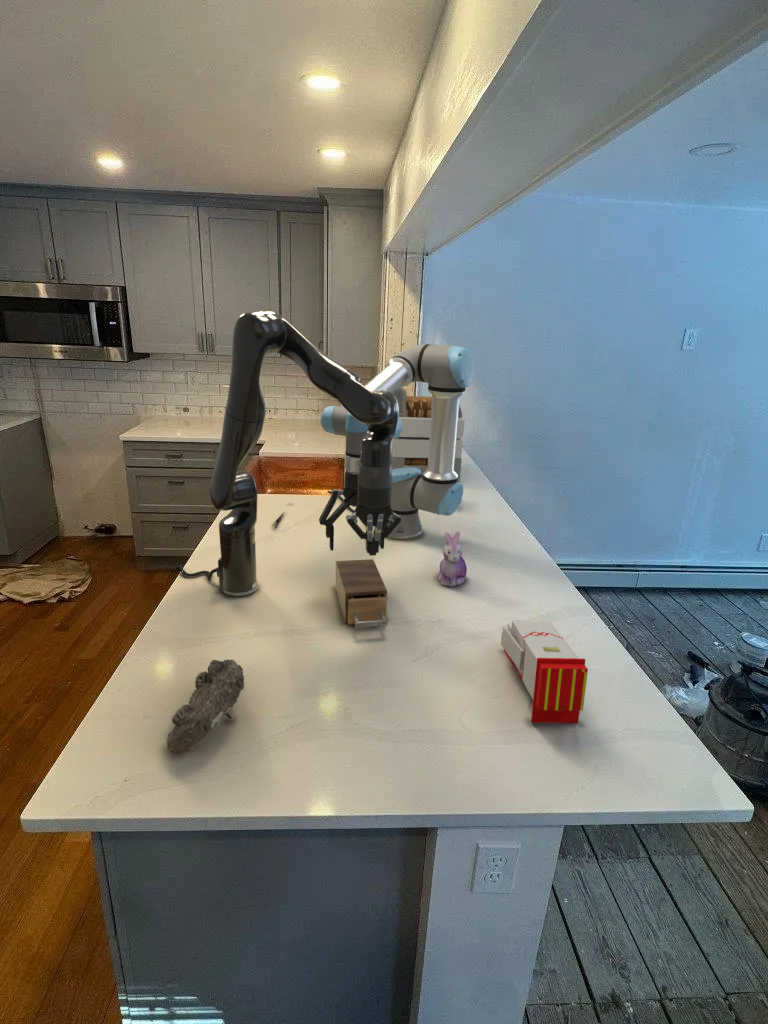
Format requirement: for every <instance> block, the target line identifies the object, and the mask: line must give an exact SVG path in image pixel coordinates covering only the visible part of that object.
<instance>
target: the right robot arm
mask: <svg viewBox="0 0 768 1024" xmlns="http://www.w3.org/2000/svg"><path fill="white" fill-rule="evenodd" d="M474 376H475V361H474V358H473V355H472V354H471V352H470V350H469V349H468V348H466V347H461V346H456V345H444V344H443V345H441V344H430V343H429V344H428V343H419V344H416V345H413V346H410V347H407V348H405V349H403V350H402V351H400V352H398V353H396V354H395V355H393V357H391V358H390V359H389V360H388V361H387V362H386V364H385V368H383V369H381V371H380V372H379V373H377V374H376V375H375V376H374V377H372V379H370V380H369V381H368V382H367V383H366V384H364V386H365V387H366V388H367V389H369V390H370V391H372V392H376V391H379V390H387V391H389V392H391V393H392V394H394V393H395V392H396V391H398V390H399V389H400V388H401V387H402V388H405V387H408V386H409V385H410V384H412V383H419V382H421V383H425V384H427V391H428V392H429V394H431V397H432V410H431V425H430V440H429V455H428V466H427V468H426V470H424V471H423V472H422V470H421V468H419V467H412V466H411V467H408V466H406V467H404V468H397V469H393V470H392V492H391V507H392V509H393V512H394V513H395V514H398V515H399V516H400V518H401V522H400V523H399V524H398V525H397V526H396V527H395V529H394V530H393V531H392V532H391V533H390V535H389V536H388V537H387V538H386V539H389V540H395V541H410V540H415V539H418V538H420V537H421V536H422V535H423V530H424V527H423V524H421V518H420V515H419V510H420V511H424V512H428V513H432V514H436V515H437V516H439V515H441V516H445V517H448V516H449V517H450V516H452V515H453V514H454V513H456V511H457V510H458V508H459V506H460V504H461V502H462V499H463V496H464V485H463V483H461V481H460V482H458V475H457V473H456V472H455V471H454V461H455V449H456V437H457V425H458V413H459V405H460V398H461V397H462V395H464V394H465V393H466V388H469V387H470V386H471V384H472V383H473V379H474ZM320 423H321V428H322V429H323V431H325V433H328V434H333V435H335V436H342V437H345V452H344V469H345V472H344V483H343V489H337V488H335V487H333V488H332V489H331V491H330V490H328V491H327V494H330V497H329V499H328V500H327V503H326V505H325V506H324V509H323V510H322V512H321V514H320V516H319V518H318V522H319V525H320V526H325V537H326V538H327V539H329V546H328V547H329V549H330V551H331V552H332V551H334V549H335V548H334V547H335V546H334V545H335V544H334V541H335V527H334V526H335V525H334V523H335V522H336V521H337V520H338V519H339V518H340V517H341V516H342V515H343V513H345V511H346V510H347V509H348V510H349V511H350V512H352V514H353V513H354V512H355V509H353V508H356V507H357V502H358V472H359V466H360V445H361V440H362V439H363V437H364V436H365V435H366V433H367V428H368V426H366V425H364V424H362V423H361V422H359V421H358V420H356V419H355V418H354V417H353V416H352V415H351V414H350V413H349V412H348V411H347V410H346V409H345V408H344V407H343V406H342V404H340V406H338V405H329V406H326V407H325V408H324V409H323V411H322V412H321V415H320ZM401 431H402V422H401V419H400V418H399V416H398V422H397V427H396V431H395V436H394V439H395V438H397V437H398V436H399V435H400V434H401ZM338 499H339V500H340V501H341V503H340V504H339V505H338V507H337V508H336V509H335V510H334V511H333V512H332V510H333V508H334V507H335V504H336V502H337V500H338ZM350 506H352V507H350ZM331 512H332V513H331ZM389 518H390V517H389ZM389 518H388V519H387V521H386V522H385V523H384V524H383V525H382V529H383V528H384V527H385V525H386V524H387V523H388V522H389V521H390V520H389ZM379 548H380V549H384V548H385V538H382V539H380V541H379Z"/></svg>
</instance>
